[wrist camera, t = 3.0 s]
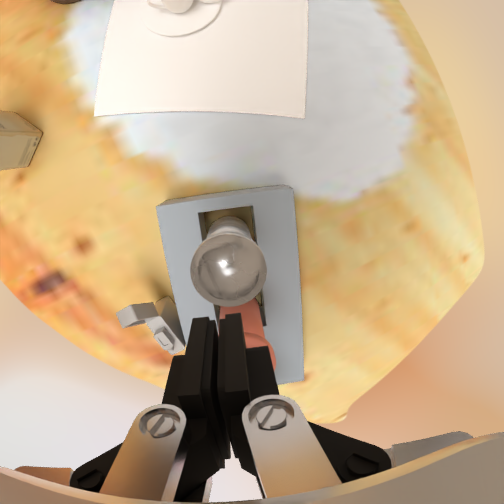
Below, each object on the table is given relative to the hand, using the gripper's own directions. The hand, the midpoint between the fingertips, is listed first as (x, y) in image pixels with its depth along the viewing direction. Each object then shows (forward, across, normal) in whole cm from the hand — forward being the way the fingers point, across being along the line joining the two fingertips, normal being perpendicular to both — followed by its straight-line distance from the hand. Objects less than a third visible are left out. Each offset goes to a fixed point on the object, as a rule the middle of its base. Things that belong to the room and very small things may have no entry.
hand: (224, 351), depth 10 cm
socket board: (+19, 0, +6) cm, 20 cm away
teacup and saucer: (+18, 0, -22) cm, 28 cm away
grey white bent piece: (+19, +7, +6) cm, 21 cm away
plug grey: (+15, 0, -1) cm, 15 cm away
